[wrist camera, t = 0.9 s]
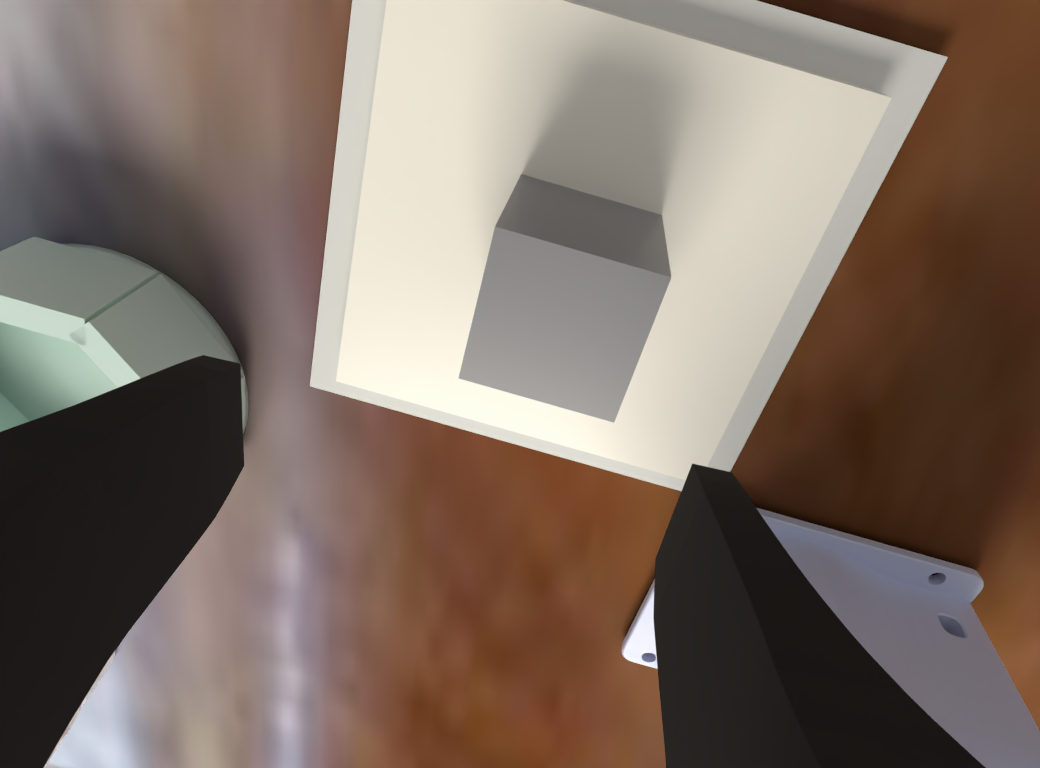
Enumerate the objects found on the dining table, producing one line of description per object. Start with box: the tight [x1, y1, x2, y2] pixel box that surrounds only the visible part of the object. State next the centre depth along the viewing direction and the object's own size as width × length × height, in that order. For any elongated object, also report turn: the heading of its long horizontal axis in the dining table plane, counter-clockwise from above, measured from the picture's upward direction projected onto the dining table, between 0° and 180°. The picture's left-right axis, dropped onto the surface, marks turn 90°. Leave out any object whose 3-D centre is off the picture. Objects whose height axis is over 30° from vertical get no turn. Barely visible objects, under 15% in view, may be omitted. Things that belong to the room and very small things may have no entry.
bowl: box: [0, 237, 249, 434], centre depth 22 cm, size 9×9×4 cm
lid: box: [336, 0, 892, 480], centre depth 16 cm, size 11×11×5 cm
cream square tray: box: [310, 0, 948, 491], centre depth 19 cm, size 13×13×1 cm
